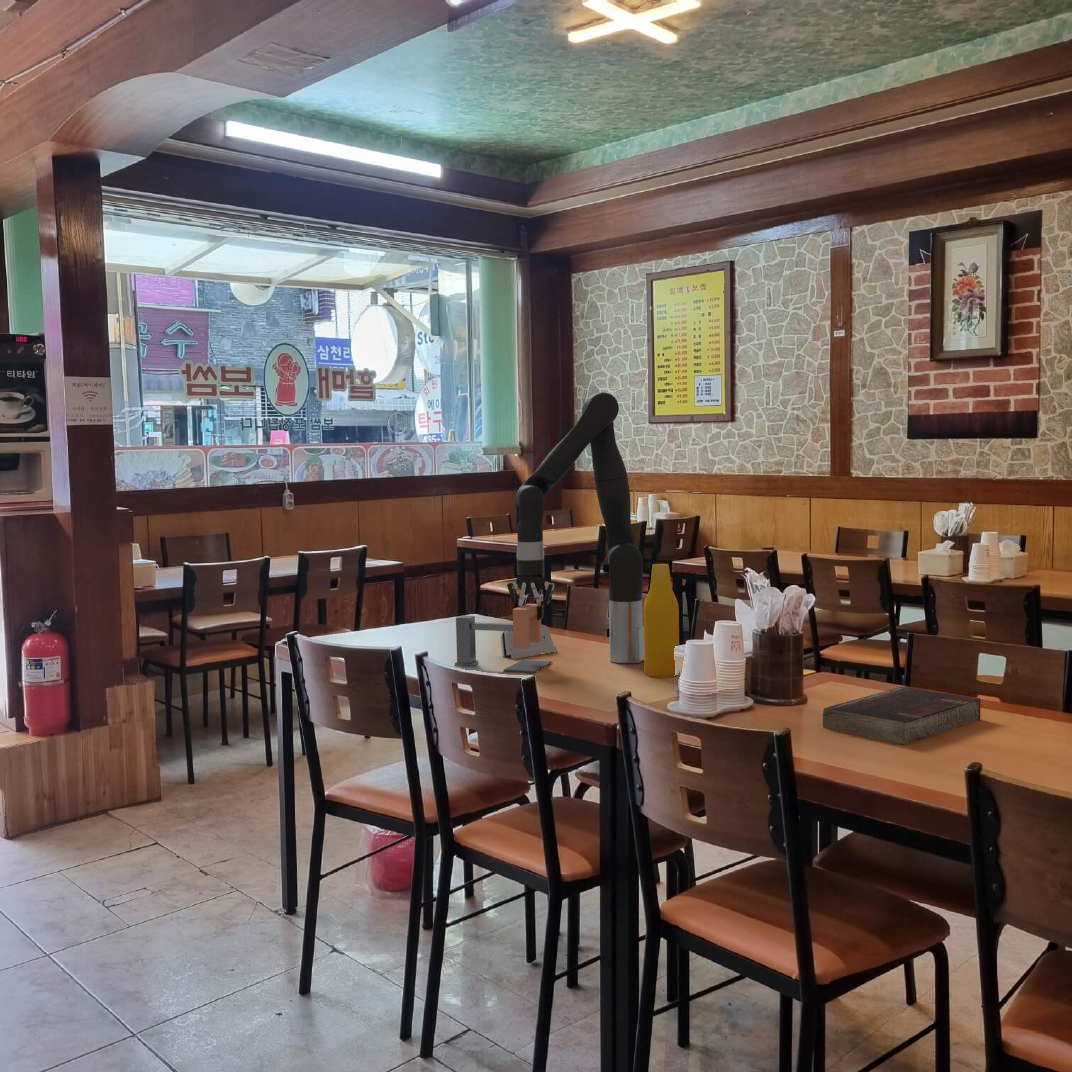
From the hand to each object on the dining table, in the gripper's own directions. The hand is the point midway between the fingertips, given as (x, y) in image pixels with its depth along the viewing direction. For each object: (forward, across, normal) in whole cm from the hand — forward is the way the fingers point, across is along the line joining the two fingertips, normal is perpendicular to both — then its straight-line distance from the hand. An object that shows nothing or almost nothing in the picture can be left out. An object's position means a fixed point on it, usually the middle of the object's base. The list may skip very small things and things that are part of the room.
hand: (531, 619), depth 288 cm
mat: (+13, 0, +4) cm, 13 cm away
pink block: (+7, 0, +4) cm, 7 cm away
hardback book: (+13, -98, +39) cm, 106 cm away
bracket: (+13, +12, +3) cm, 18 cm away
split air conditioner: (+13, +8, -16) cm, 22 cm away
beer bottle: (+13, -38, +4) cm, 40 cm away
